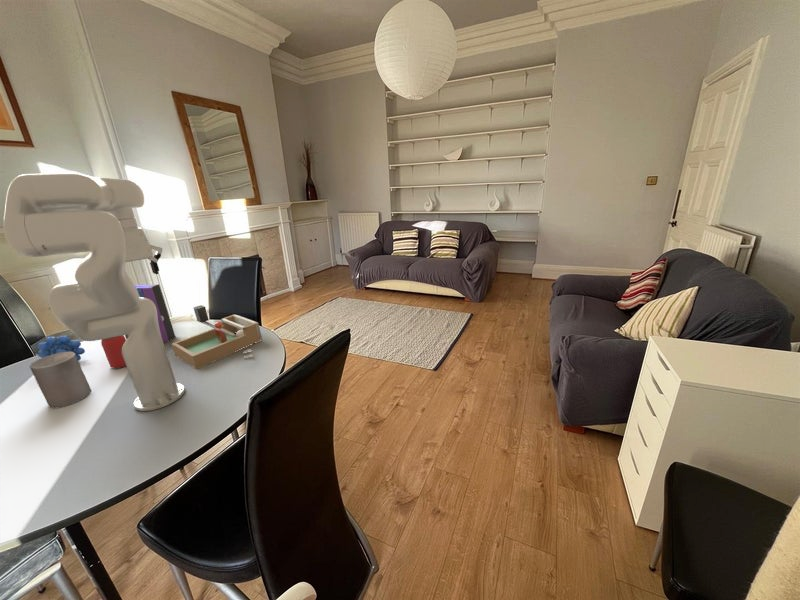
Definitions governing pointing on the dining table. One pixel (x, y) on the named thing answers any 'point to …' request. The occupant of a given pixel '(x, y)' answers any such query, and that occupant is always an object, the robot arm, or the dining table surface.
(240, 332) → the ball
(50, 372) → the pillar candle
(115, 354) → the beer can
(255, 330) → the pitch
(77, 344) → the grapes
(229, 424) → the dining table surface
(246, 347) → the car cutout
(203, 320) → the striker
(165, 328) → the cereal box
